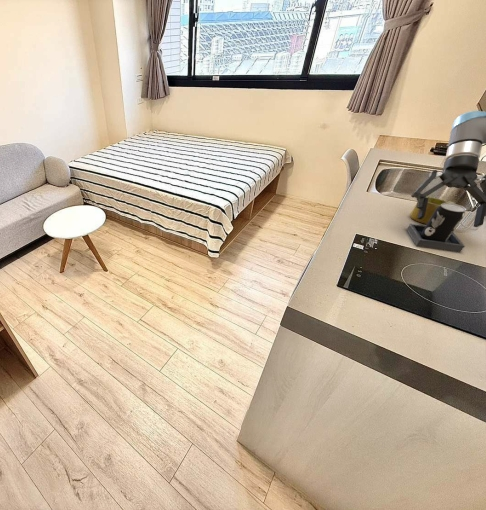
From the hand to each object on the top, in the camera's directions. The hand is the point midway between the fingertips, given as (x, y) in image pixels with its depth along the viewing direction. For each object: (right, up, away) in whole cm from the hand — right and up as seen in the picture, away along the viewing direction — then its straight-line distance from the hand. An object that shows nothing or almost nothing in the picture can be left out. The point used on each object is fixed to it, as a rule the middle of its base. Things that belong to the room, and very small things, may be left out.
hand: (448, 221), depth 87 cm
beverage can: (+1, -5, +6) cm, 8 cm away
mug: (+11, +3, +17) cm, 21 cm away
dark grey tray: (+1, -6, +6) cm, 9 cm away
